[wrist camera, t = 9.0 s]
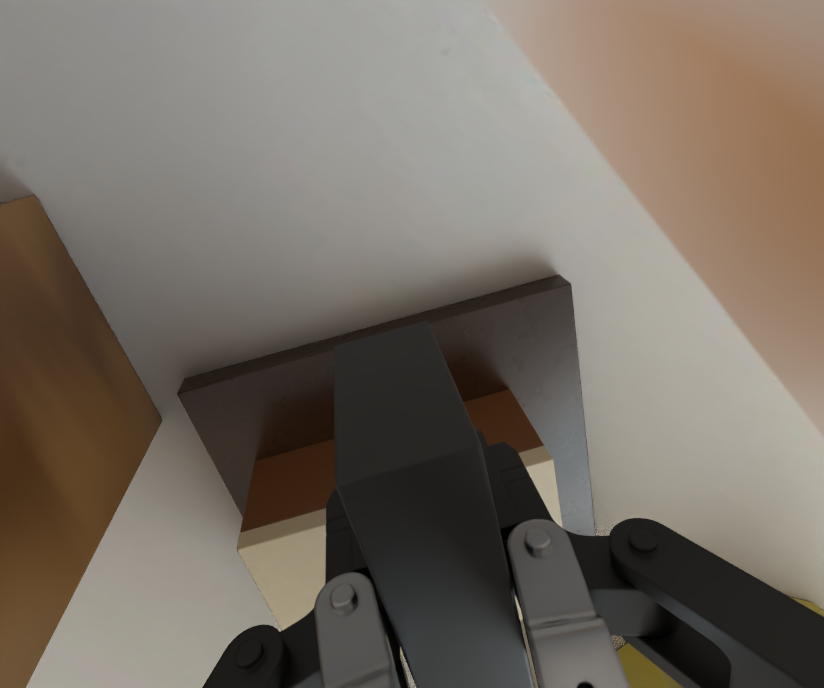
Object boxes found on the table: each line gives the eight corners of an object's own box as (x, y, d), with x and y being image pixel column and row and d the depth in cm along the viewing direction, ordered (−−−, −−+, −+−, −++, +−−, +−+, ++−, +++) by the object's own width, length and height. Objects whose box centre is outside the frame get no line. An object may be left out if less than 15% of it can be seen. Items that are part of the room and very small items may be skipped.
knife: (332, 345, 12) (333, 484, 8) (427, 318, 13) (481, 442, 8) (482, 775, 22) (520, 946, 18) (535, 759, 22) (587, 925, 18)
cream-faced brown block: (254, 460, 27) (235, 550, 22) (400, 419, 27) (417, 497, 22) (314, 583, 32) (310, 682, 26) (438, 547, 32) (460, 638, 27)
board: (184, 378, 26) (176, 393, 25) (559, 273, 27) (571, 283, 25) (309, 621, 35) (308, 641, 34) (588, 539, 36) (598, 557, 34)
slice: (429, 411, 28) (453, 487, 22) (510, 388, 28) (553, 458, 22) (463, 540, 32) (490, 629, 27) (533, 520, 32) (573, 605, 27)
